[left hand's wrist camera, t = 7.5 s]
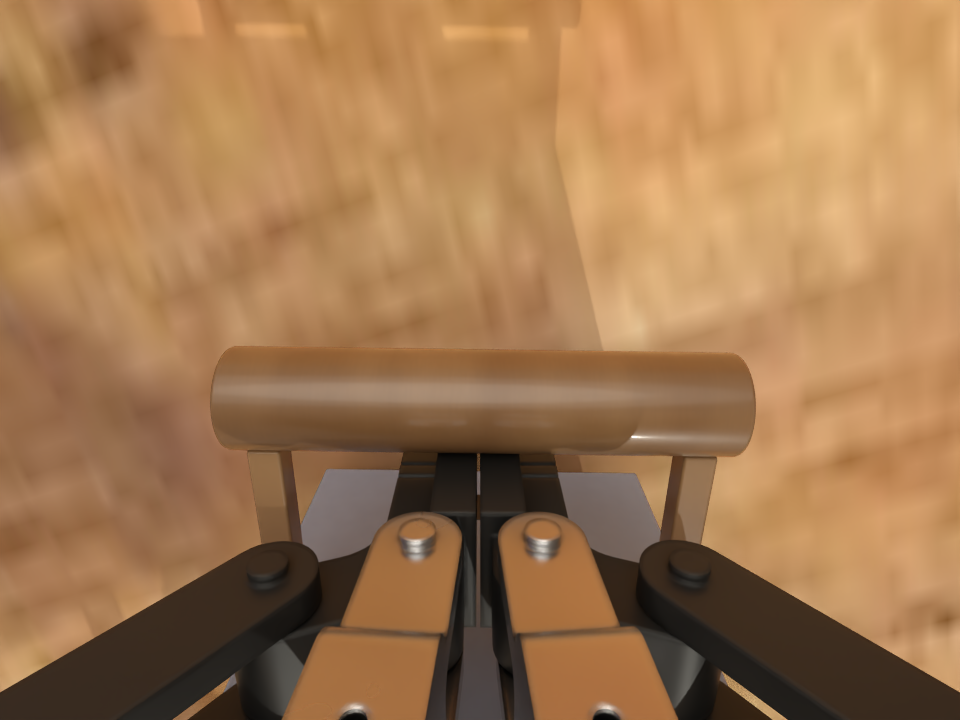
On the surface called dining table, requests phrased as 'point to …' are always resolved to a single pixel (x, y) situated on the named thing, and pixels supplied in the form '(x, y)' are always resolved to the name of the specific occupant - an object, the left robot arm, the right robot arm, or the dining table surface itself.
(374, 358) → the drawer
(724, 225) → the dining table surface
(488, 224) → the dining table surface
